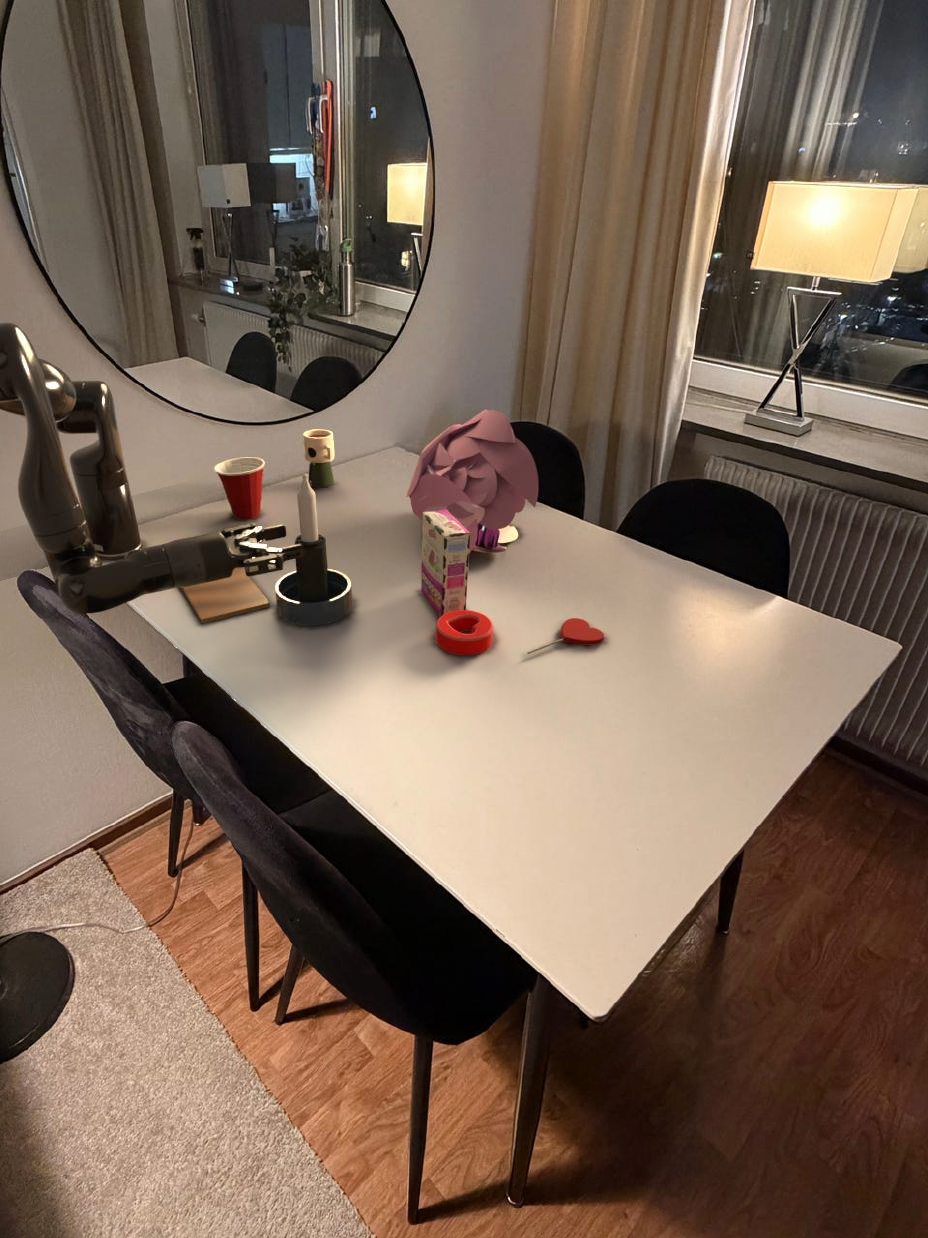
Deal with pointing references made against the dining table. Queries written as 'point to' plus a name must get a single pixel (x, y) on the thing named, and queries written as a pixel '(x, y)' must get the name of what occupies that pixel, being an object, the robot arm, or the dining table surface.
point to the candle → (311, 550)
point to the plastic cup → (242, 485)
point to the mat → (225, 597)
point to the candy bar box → (444, 561)
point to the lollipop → (577, 633)
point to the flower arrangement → (477, 479)
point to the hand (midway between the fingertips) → (294, 539)
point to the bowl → (317, 610)
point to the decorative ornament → (464, 643)
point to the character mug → (319, 456)
